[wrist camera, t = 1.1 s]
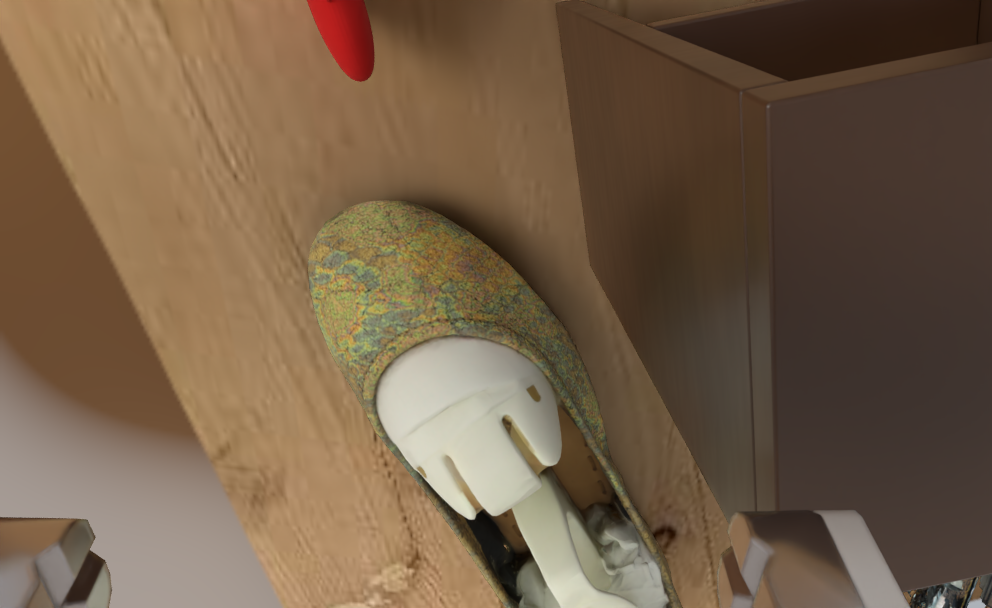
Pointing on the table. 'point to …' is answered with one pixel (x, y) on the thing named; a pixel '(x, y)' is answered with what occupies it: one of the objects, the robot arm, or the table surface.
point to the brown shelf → (806, 252)
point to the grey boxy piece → (953, 594)
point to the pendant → (346, 34)
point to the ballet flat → (483, 407)
